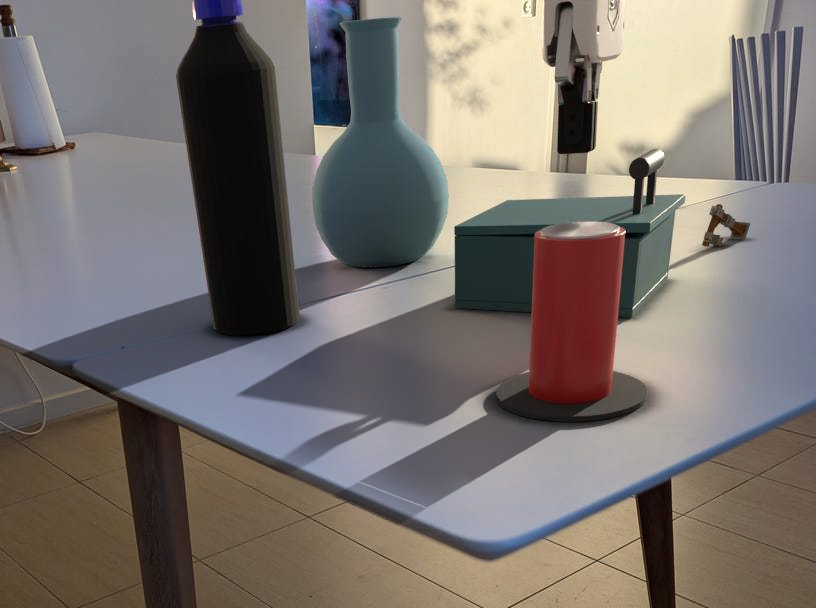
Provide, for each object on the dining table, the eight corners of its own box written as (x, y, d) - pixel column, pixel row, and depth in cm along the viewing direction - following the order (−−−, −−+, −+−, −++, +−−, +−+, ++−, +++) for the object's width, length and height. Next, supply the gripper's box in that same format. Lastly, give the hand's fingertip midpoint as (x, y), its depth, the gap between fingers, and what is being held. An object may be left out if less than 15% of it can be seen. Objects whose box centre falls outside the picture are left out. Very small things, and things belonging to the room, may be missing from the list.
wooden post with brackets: (693, 242, 104) (707, 200, 103) (723, 260, 110) (736, 220, 108) (708, 243, 103) (722, 201, 102) (737, 261, 109) (751, 221, 107)
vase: (466, 263, 109) (467, 9, 95) (331, 280, 107) (311, 23, 93) (425, 239, 123) (420, 15, 109) (305, 255, 120) (284, 27, 106)
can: (627, 387, 68) (643, 224, 62) (578, 409, 65) (589, 240, 59) (561, 372, 72) (570, 218, 66) (512, 393, 69) (516, 233, 63)
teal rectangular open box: (667, 280, 95) (675, 209, 91) (631, 317, 84) (639, 238, 80) (505, 274, 102) (506, 208, 99) (454, 308, 92) (454, 235, 88)
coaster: (677, 389, 68) (677, 384, 67) (586, 433, 62) (587, 428, 62) (556, 363, 75) (556, 358, 75) (465, 401, 69) (465, 395, 69)
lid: (684, 203, 90) (690, 141, 87) (649, 232, 80) (654, 163, 77) (507, 208, 99) (507, 152, 96) (454, 235, 88) (452, 173, 85)
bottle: (289, 308, 97) (255, -14, 82) (308, 327, 90) (275, -21, 75) (207, 320, 96) (158, -5, 80) (220, 341, 89) (168, -12, 73)
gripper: (606, -110, 69) (593, 161, 79) (652, -98, 80) (636, 140, 90) (511, -92, 72) (510, 165, 82) (568, -83, 83) (561, 144, 93)
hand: (576, 151), depth 86 cm, fingers closed
